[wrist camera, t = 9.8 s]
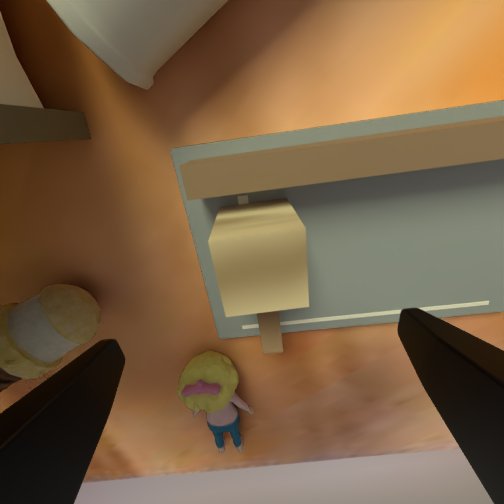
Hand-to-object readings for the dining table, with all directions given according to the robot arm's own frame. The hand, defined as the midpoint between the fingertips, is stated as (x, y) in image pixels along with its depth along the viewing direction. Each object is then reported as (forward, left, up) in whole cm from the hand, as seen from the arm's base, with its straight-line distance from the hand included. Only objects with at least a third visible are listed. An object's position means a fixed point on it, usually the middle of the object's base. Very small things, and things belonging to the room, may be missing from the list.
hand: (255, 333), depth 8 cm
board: (-2, -7, -9) cm, 12 cm away
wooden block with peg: (-3, 0, -8) cm, 9 cm away
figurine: (-17, +5, -10) cm, 20 cm away
